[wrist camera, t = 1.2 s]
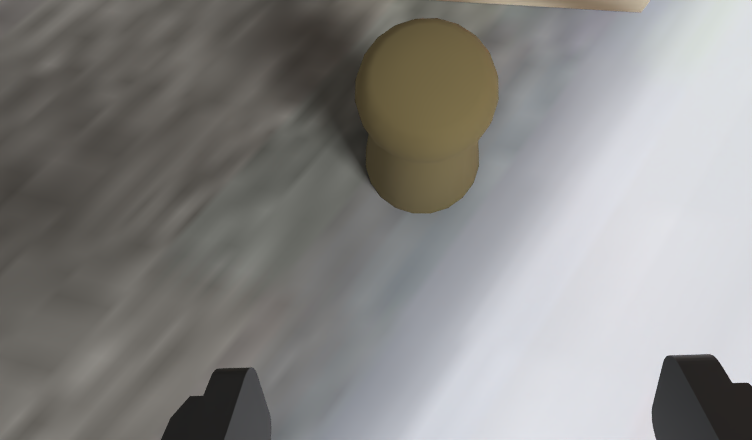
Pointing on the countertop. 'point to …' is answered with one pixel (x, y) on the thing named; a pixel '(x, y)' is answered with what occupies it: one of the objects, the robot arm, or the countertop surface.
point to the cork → (425, 112)
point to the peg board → (573, 4)
